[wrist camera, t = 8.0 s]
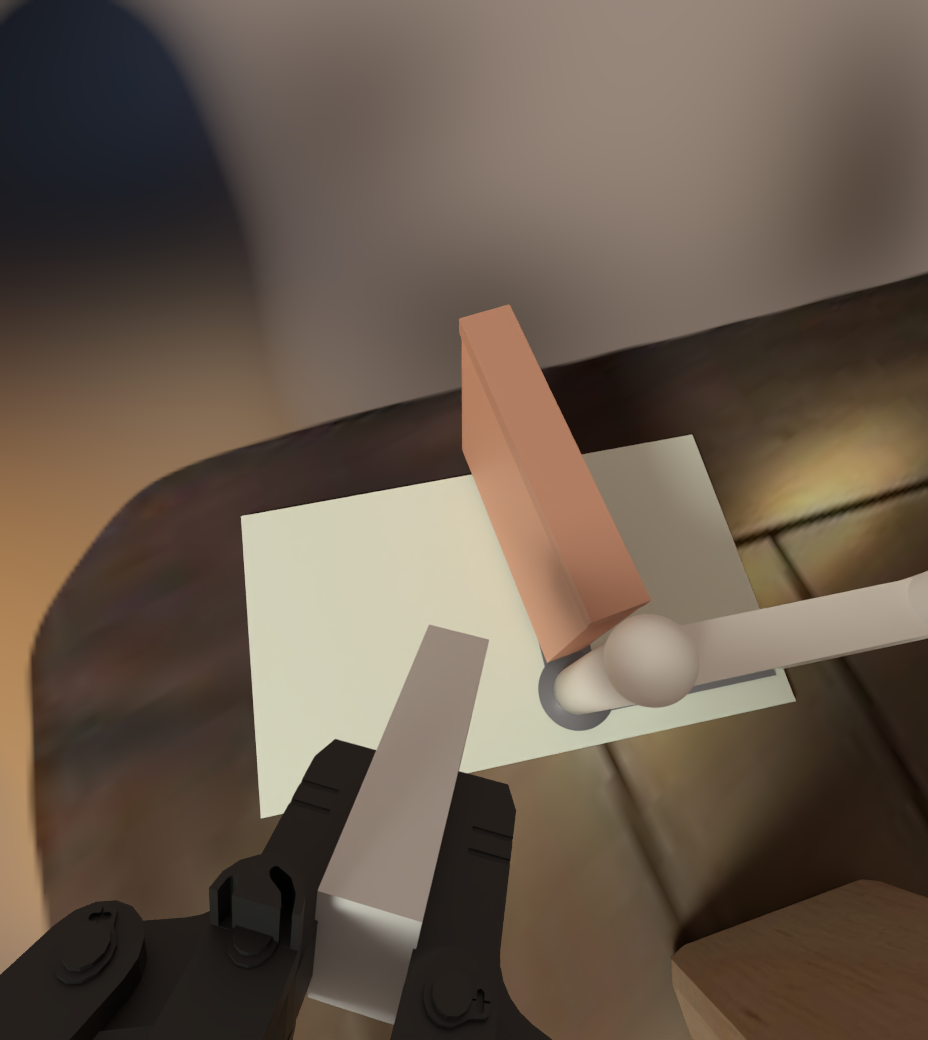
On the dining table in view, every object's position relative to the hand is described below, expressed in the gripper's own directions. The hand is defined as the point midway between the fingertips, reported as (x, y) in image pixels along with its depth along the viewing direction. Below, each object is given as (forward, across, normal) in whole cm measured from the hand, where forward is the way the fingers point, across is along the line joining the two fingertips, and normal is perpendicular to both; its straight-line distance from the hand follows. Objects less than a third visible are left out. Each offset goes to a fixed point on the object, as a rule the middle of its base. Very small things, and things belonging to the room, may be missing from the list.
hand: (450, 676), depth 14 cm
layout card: (+14, -1, +6) cm, 15 cm away
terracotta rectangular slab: (+15, -1, +3) cm, 15 cm away
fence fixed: (+12, -10, +7) cm, 17 cm away
